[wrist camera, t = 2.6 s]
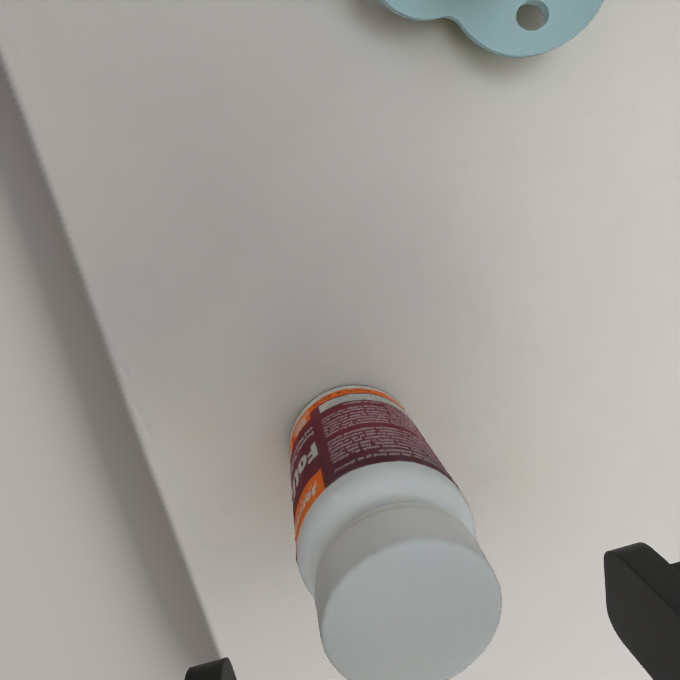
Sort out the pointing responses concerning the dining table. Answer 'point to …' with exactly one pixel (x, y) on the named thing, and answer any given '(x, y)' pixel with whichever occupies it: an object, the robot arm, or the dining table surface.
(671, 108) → the dining table surface
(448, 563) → the pill bottle
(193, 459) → the dining table surface
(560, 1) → the pacifier
